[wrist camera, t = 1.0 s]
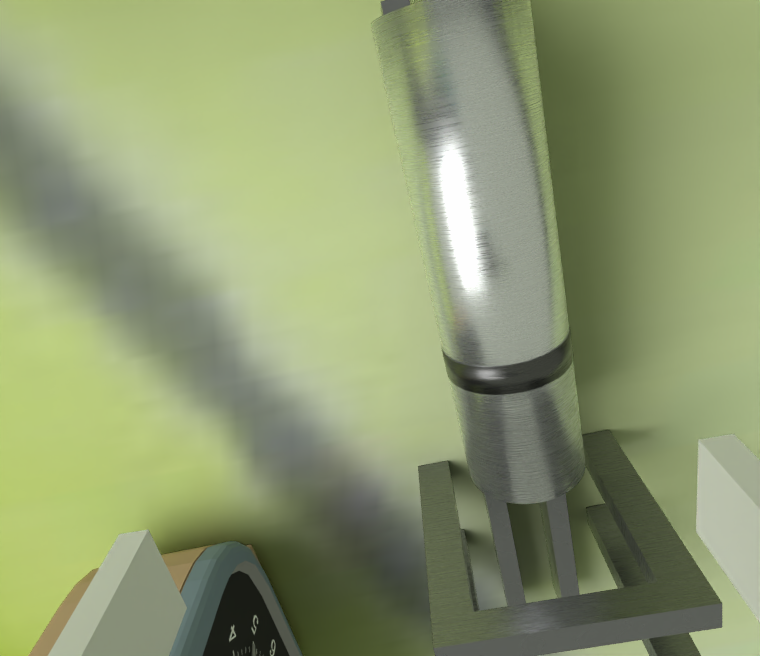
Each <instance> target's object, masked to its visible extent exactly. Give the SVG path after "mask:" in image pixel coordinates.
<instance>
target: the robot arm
mask: <svg viewBox="0 0 760 656" xmlns="http://www.w3.org/2000/svg"><path fill="white" fill-rule="evenodd" d="M696 532H697V534H698V535H699V537H700V538H701V539H702V541H703V542H704V544H705V545H706V547H707V548H708V550H709V551H710V552H711V554H712V555H713V557H714V558H715V560H716V561H717V562H718V564H719V565H720V567H721V568H722V570H723V571H724V572H725V574H726V575H727V577H728V578H729V580H730V581H731V583H732V584H733V585H734V587H735V588H736V590H737V591H738V593H739V594H740V595H741V597H742V598H743V600H744V601H745V603H746V604H747V606H748V607H749V608H750V610H751V611H752V613H753V614H754V616H755V617H756V618H757V620H758V621H759V623H760V460H759V459H758V458H757V457H756V456H755V455H754V454H753V453H752V452H751V451H750V450H749V449H748V448H747V447H746V446H745V445H744V444H743V443H742V442H741V441H740V440H739V439H738V438H737V437H736V436H735V435H734V434H729V435H723V436H717V437H711V438H705V439H698V473H697V514H696ZM186 609H187V607H186V605H185V603H184V601H183V599H182V596H181V594H180V592H179V590H178V588H177V586H176V584H175V582H174V580H173V578H172V576H171V574H170V572H169V570H168V568H167V566H166V564H165V562H164V560H163V558H162V556H161V554H160V552H159V550H158V548H157V546H156V544H155V542H154V540H153V538H152V536H151V534H150V532H149V530H142V531H136V532H130V533H124V534H119V535H118V537H117V539H116V541H115V542H114V544H113V546H112V547H111V549H110V551H109V552H108V554H107V556H106V558H105V559H104V561H103V563H102V564H101V566H100V568H99V569H98V571H97V573H96V574H95V576H94V578H93V580H92V581H91V583H90V585H89V586H88V588H87V590H86V591H85V593H84V595H83V597H82V598H81V600H80V602H79V603H78V605H77V607H76V608H75V610H74V612H73V614H72V615H71V617H70V619H69V620H68V622H67V624H66V625H65V627H64V629H63V631H62V632H61V634H60V636H59V637H58V639H57V641H56V642H55V644H54V646H53V648H52V649H51V651H50V653H49V654H48V656H169V654H170V651H171V649H172V646H173V643H174V641H175V638H176V635H177V633H178V630H179V627H180V625H181V622H182V619H183V617H184V614H185V612H186Z"/></svg>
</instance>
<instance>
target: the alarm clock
mask: <svg viewBox="0 0 760 656" xmlns="http://www.w3.org/2000/svg"><path fill="white" fill-rule="evenodd" d="M161 556H162V558H163V560H164V562H165V564H166V566H167V568H168V570H169V572H170V574H171V576H172V578H173V580H174V582H175V584H176V586H177V588H178V590H179V592H180V594H181V596H182V599H183V601H184V603H185V605H186V607H187V609H186V612H185V614H184V617H183V619H182V622H181V625H180V627H179V630H178V633H177V635H176V638H175V641H174V643H173V646H172V649H171V651H170V654H169V656H303V655H302V653H301V650H300V648H299V646H298V644H297V641H296V639H295V637H294V635H293V633H292V630H291V628H290V626H289V624H288V622H287V619H286V617H285V615H284V613H283V611H282V608H281V606H280V604H279V602H278V599H277V597H276V595H275V593H274V590H273V588H272V586H271V584H270V582H269V579H268V577H267V575H266V573H265V572H264V570H263V569H262V567H261V565H260V562H259V560H258V558H257V556H256V554H255V551H254V549H253V547H252V545H246V546H245V545H243V544H241V543H239V542H236V541H230V542H225V543H219V544H214V545H209V546H204V547H198V548H193V549H188V550H183V551H178V552H172V553H167V554H162V555H161ZM98 569H99V568H96V569H93V570H92V571H91V572H89V573H88V574H87V575H86V576H85V577H84V578H83V579H81V580H80V581H79V582H78V583H77V584H76V585H75V586H74V588H73V589H72V590H71V592H70V593H69V594H68V596H67V597H66V598H65V600H64V601H63V602H62V604H61V605H60V607H59V608H58V610H57V611H56V613H55V614H54V616H53V618H52V619H51V621H50V622H49V624H48V626H47V627H46V629H45V630H44V632H43V633H42V635H41V637H40V638H39V640H38V641H37V643H36V645H35V646H34V648H33V649H32V651H31V652H30V654H29V656H48V654H49V653H50V651H51V649H52V648H53V646H54V644H55V642H56V641H57V639H58V637H59V636H60V634H61V632H62V631H63V629H64V627H65V625H66V624H67V622H68V620H69V619H70V617H71V615H72V614H73V612H74V610H75V608H76V607H77V605H78V603H79V602H80V600H81V598H82V597H83V595H84V593H85V591H86V590H87V588H88V586H89V585H90V583H91V581H92V580H93V578H94V576H95V574H96V573H97V571H98Z"/></svg>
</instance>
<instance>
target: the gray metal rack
mask: <svg viewBox="0 0 760 656" xmlns="http://www.w3.org/2000/svg"><path fill="white" fill-rule="evenodd" d="M408 5H410V1H409V0H385V1H381V12H382V16H383V15H385V14H388V13H390V12H392V11H395V10H397V9H400V8H402V7H405V6H408ZM582 439H583V448H584V456H585V465H586V467H587V469H588V471H589V473H590V475H591V477H592V479H593V480H594V482H595V484H596V486H597V488H598V490H599V492H600V494H601V496H602V498H603V499H604V501H605V503H606V504H603V505H597V506H591V507H586V509H587V518H588V524H589V527H590V529H591V531H592V533H593V535H594V537H595V540H596V542H597V544H598V546H599V548H600V550H601V552H602V555H603V557H604V559H605V561H606V563H607V565H608V568H609V570H610V572H611V574H612V576H613V578H614V580H615V583H616V585H617V587H618V589H612V590H606V591H600V592H594V593H588V594H582V595H579V588H578V580H577V573H576V566H575V559H574V552H573V544H572V537H571V530H570V523H569V516H568V508H567V501H566V494H563V495H562V496H559V497H557V498H555V499H552V500H549V501H545V502H540V508H541V514H542V520H543V526H544V532H545V538H546V545H547V551H548V557H549V563H550V569H551V575H552V581H553V586H554V589H555V592H556V595H557V599H551V600H544V601H538V602H532V603H526V601H525V596H524V591H523V586H522V581H521V575H520V570H519V565H518V560H517V555H516V550H515V544H514V539H513V534H512V529H511V524H510V518H509V513H508V508H507V503H506V502H503V501H500V500H497V499H494V498H492V497H490V496H488V495H486V494H485V493H484V498H485V503H486V507H487V512H488V517H489V522H490V526H491V531H492V536H493V540H494V545H495V550H496V555H497V559H498V564H499V569H500V573H501V578H502V583H503V588H504V592H505V597H506V601H507V605H508V606H507V607H501V608H495V609H489V610H483V611H479V605H478V600H477V594H476V589H475V583H474V577H473V572H472V566H471V561H470V555H469V549H468V544H467V540H466V536H465V531H464V529H462V530H461V529H460V523H459V517H458V511H457V505H456V499H455V493H454V488H453V482H452V477H451V472H450V468H449V464H448V461H444V462H439V463H433V464H428V465H423V466H418V471H419V483H420V495H421V507H422V518H423V530H424V542H425V554H426V566H427V578H428V590H429V602H430V614H431V626H432V638H433V649H434V652H435V655H436V656H537V655H544V654H550V653H557V652H563V651H570V650H577V649H583V648H590V647H596V646H603V645H610V644H616V643H623V642H629V641H636V640H642V641H643V643H644V645H645V647H646V649H647V652H648V654H649V656H701V655H700V653H699V651H698V649H697V647H696V646H695V644H694V642H693V640H692V638H691V637H690V635H689V632H695V631H702V630H708V629H715V628H722V602H721V601H720V599H719V598H718V596H717V595H716V593H715V592H714V590H713V588H712V587H711V585H710V584H709V582H708V581H707V579H706V578H705V576H704V575H703V573H702V572H701V570H700V569H699V567H698V565H697V564H696V562H695V561H694V559H693V558H692V556H691V555H690V553H689V552H688V550H687V549H686V547H685V546H684V544H683V542H682V541H681V539H680V538H679V536H678V535H677V533H676V532H675V530H674V529H673V527H672V526H671V524H670V523H669V521H668V519H667V518H666V516H665V515H664V513H663V512H662V510H661V509H660V507H659V506H658V504H657V503H656V501H655V500H654V498H653V497H652V495H651V493H650V492H649V490H648V489H647V487H646V486H645V484H644V483H643V481H642V480H641V478H640V477H639V475H638V474H637V472H636V470H635V469H634V467H633V466H632V464H631V463H630V461H629V460H628V458H627V457H626V455H625V454H624V452H623V451H622V449H621V447H620V446H619V444H618V443H617V441H616V440H615V438H614V437H613V435H612V434H611V432H610V431H609V430H606V431H601V432H595V433H590V434H585V435H582Z"/></svg>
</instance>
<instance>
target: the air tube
mask: <svg viewBox="0 0 760 656" xmlns="http://www.w3.org/2000/svg"><path fill="white" fill-rule="evenodd" d="M371 27H372V32H373V36H374V41H375V45H376V50H377V54H378V59H379V63H380V68H381V72H382V77H383V81H384V86H385V91H386V95H387V100H388V104H389V109H390V113H391V118H392V122H393V127H394V131H395V136H396V141H397V145H398V150H399V154H400V159H401V163H402V168H403V172H404V177H405V181H406V186H407V190H408V195H409V200H410V204H411V209H412V213H413V218H414V222H415V227H416V231H417V236H418V240H419V245H420V249H421V254H422V259H423V263H424V268H425V272H426V277H427V281H428V286H429V290H430V295H431V299H432V304H433V308H434V313H435V318H436V322H437V327H438V331H439V336H440V340H441V345H442V352H443V357H444V361H445V366H446V370H447V374H448V377H449V381H450V386H451V390H452V395H453V399H454V404H455V408H456V413H457V417H458V422H459V426H460V431H461V436H462V440H463V445H464V449H465V454H466V458H467V463H468V467H469V472H470V476H471V479H472V481H473V483H474V484H475V485H476V487H477V488H478V489H479V490H481V491H482V492H483V493H485V494H486V495H488V496H490V497H492V498H494V499H497V500H500V501H503V502H507V503H514V504H533V503H540V502H545V501H549V500H552V499H555V498H557V497H559V496H562V495H563V494H565V493H567V492H569V491H570V490H571V489H572V488H574V487H575V486H576V485H577V484H578V483H579V481H580V480H581V478H582V476H583V474H584V471H585V456H584V448H583V439H582V431H581V422H580V414H579V405H578V397H577V389H576V380H575V372H574V363H573V349H572V341H571V332H570V327H569V321H568V313H567V304H566V296H565V287H564V279H563V271H562V262H561V254H560V245H559V237H558V228H557V220H556V212H555V203H554V195H553V186H552V178H551V169H550V161H549V153H548V144H547V136H546V127H545V119H544V110H543V102H542V94H541V85H540V77H539V68H538V60H537V51H536V43H535V35H534V26H533V18H532V9H531V1H530V0H422V1H419V2H416V3H413V4H411V5H408V6H405V7H402V8H400V9H397V10H395V11H392V12H390V13H388V14H385V15H383V16H381V17H379V18H378V19H376V20H374V21H373V22H372V23H371Z"/></svg>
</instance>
